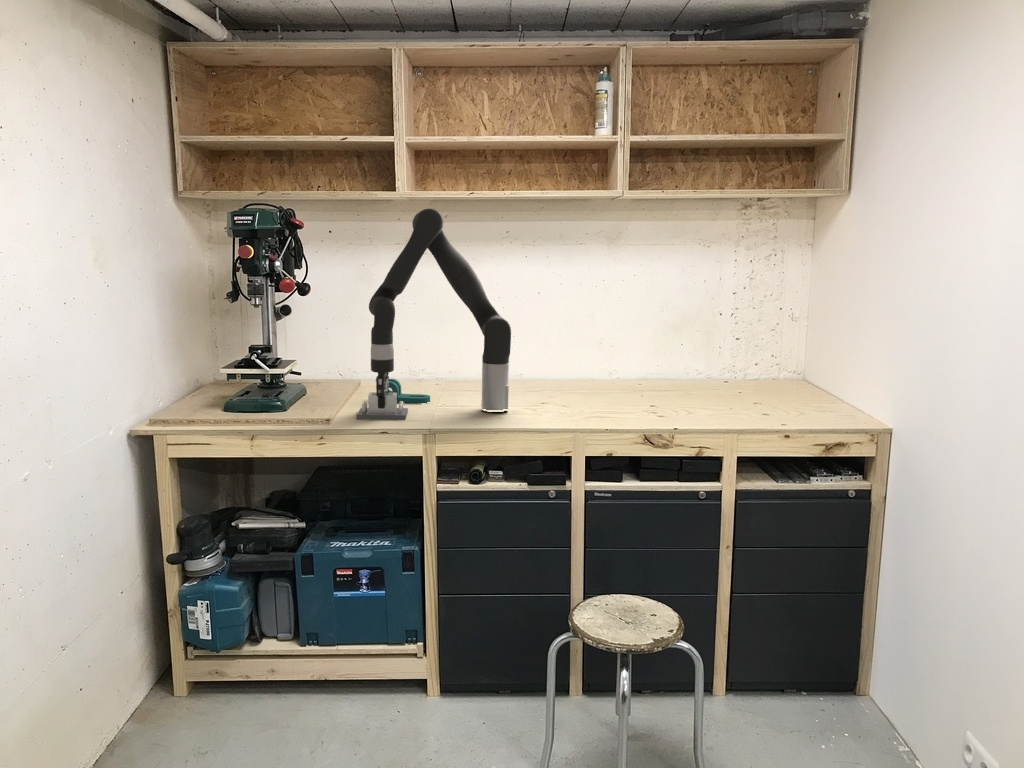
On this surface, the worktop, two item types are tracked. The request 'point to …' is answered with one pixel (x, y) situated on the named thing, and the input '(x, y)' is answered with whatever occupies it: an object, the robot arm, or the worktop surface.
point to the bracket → (406, 397)
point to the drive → (389, 402)
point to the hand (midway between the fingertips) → (382, 405)
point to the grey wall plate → (399, 414)
